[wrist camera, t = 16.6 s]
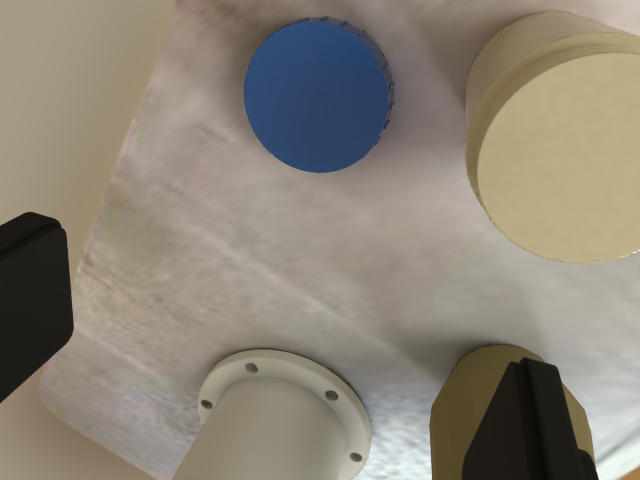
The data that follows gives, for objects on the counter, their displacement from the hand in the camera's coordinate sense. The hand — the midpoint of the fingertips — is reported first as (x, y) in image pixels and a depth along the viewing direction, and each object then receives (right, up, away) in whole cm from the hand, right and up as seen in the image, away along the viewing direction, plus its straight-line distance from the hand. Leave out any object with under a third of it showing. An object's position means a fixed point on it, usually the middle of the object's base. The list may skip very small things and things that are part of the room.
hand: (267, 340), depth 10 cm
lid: (+1, +9, +13) cm, 16 cm away
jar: (+11, +9, +12) cm, 18 cm away
